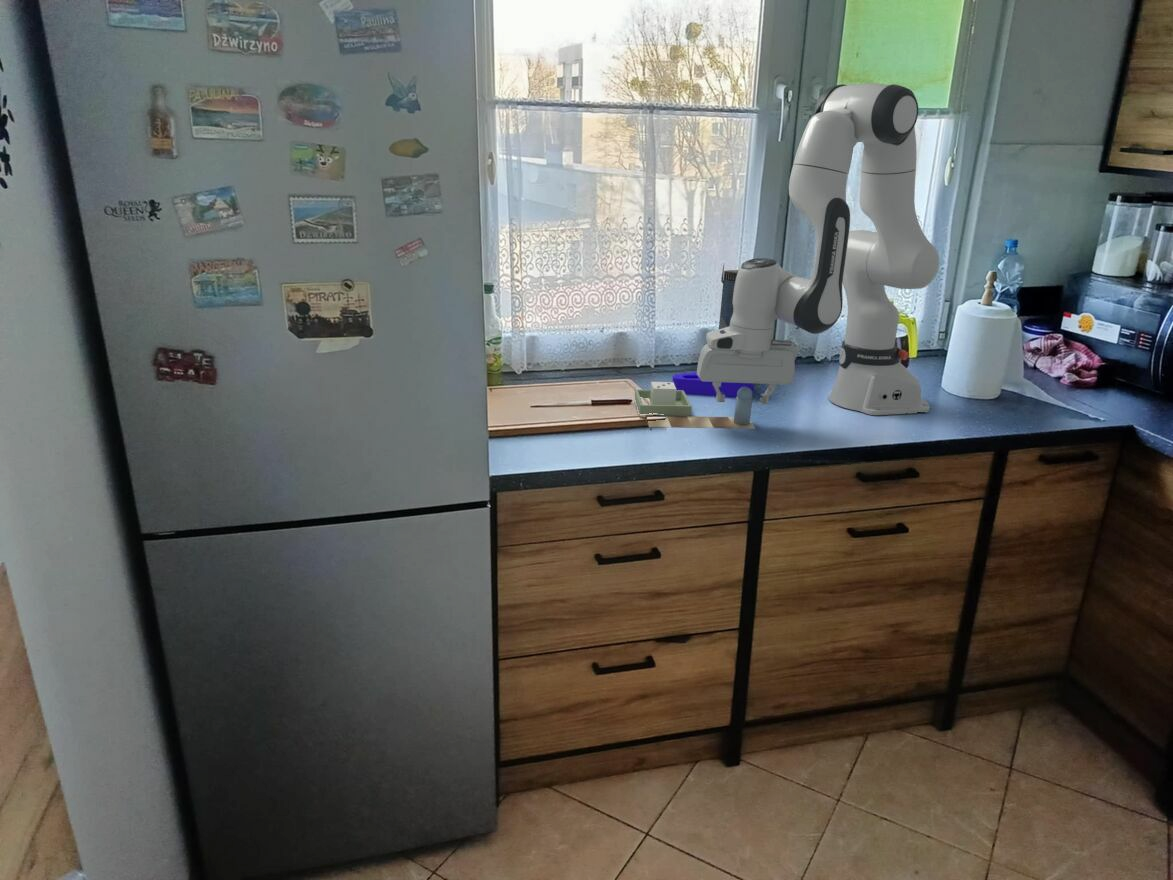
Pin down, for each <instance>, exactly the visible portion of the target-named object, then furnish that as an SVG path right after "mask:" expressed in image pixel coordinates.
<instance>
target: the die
mask: <svg viewBox="0 0 1173 880" xmlns="http://www.w3.org/2000/svg"><path fill="white" fill-rule="evenodd" d="M650 390H651V393H650V403H651V405H675V400H676V387H675V385H674V382H672V381H651V383H650Z"/></svg>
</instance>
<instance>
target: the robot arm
mask: <svg viewBox="0 0 1173 880" xmlns="http://www.w3.org/2000/svg"><path fill="white" fill-rule="evenodd" d="M813 108H814V109H813V114H812V115H813V116H811V118H810V119H809V121H808V123H807V124H806V127H805V128H804V130H803V131H804V132H803V134H802V136H801V139H800V142H799V144H798V146H797V150H796V152H795V153H796V154H795V157H794V160H793V165H792V167H791V170H790V171H791V172H790V177H789V181H788V196H789V197H790V198H789V199H790V200H791V202H792V204H793V206H794V208H796V209H797V211H798V212H799V213H800V214H802V215H803V216H804V217H805V218H807V219H808V221H809V222H810V223H811V224H812V226H813V228H814V230H815V233H816V240H817V241H816V246H815V247H816V249H815V255H814V264H813V270H812V277H811V279H809V278H805V277H802V276H800V275H795V274H793V273H791V272H789V271H788V270H786V269H784V268H783V267H782V266H781V265H780V264H779V263H778V262H777V260H775V259H772V258H766V257H762V258H761V257H759V258H758V257H757V258H752V259H748V260H746V261H744V262H742V263H741V265H740V266H739V268H738V269H737V270H738V273H737V277H736V281H735V286H734V293H733V315H732V318H731V320H730V326H729V327H726V328H722V329H719V328H718V329H715V330H711V331H709V332H707V333H706V336H705V340H706V344H705V345H704V346H702V348H701V351H700V353H699V356H698V362H697V366H696V367H697V368H696V372H697V375H698V377H699V378H700V380H701V381H706V382H713V383H712V384H713V386H714V388H715V390H716V392H717V394H716V396H715V401H716V402H717V403H724V402H725V398H726V397H725V394H724V392H720V390H719V388H718V387H721V382H732V383H754V384H757V385H759V384H760V385H766V387H767V388H766V390H765V392H764V393H760V394H759V397H760V398H759V403H760V404H761V405H762V404H763V405H766V404H767V405H768V404H769V399H770V397H771V395H773V393H774V391H775V390H776V387H777V385H785V386H786V385H788V386H789V385H791V384H792V383H793V382H794V380H795V369H796V367H795V366H796V365H795V360H796V359H797V357H798V350H799V349H798V346H797V344H796V343H795V342H793V340H790V339H786V340H782V339H781V340H780V339H773V331H774V322H775V321H776V320H780V321H782V322H784V323H787V324H790V325H792V326H796V327H798V328H799V329H801V330H804V331H805V332H808V333H810V334H813V335H817V334H822V333H824V332H825V331H828V330H829V329H831V328H832V327H833V326H834V325H835V324H836V323H837V321H838V320H839V318H840V317H841V315H842V311H843V301H844V300H843V289H844V292H845V296H846V302H847V316H846V325H845V326H846V327H845V335H844V340H843V341H841V342H842V343H841V347H840V351H839V360H838V361H839V364H838V365H839V367H838V372H837V375H836V378H835V381H834V385H833V388H832V390H831V392H830V394H829V396H828V399H829V401H830V402H831V403H833V404H835V405H836V406H838V407H841V408H845V409H848V410H852V411H858V412H861V413H864V414H867V415H870V416H884V415H885V416H886V415H888V416H889V415H904V414H905V415H906V413H907V414H918V413H917V412H925V413H928V412H929V411H930V405H929V403H928V401H927V400H925V399H924V398H923V397H922V388H921V383H920V381H919V380H918V378H917V377H916V376H915V375H914V374H913V373H912V372H911V371H910V370H908V368H907V367H905V366H904V364H902V363H901V362H900V360H902V361H907V360H908V359H909V357H910V353H909V351H906V349H901V348H899V347H898V346H896V338H897V332H898V326H899V321H900V313H899V310H898V308H897V306H895V304H894V303H892V302H891V300H890V299H889V297H888V296H887V293H886V289H885V286H886V287H891V288H895V289H899V290H903V289H904V290H917V289H918V290H919V289H924V288H926V287H928V285H930V284H931V283H932V282H933V280H934V279H935V278H936V276H937V274H938V272H939V269H940V255H939V252H938V250H937V248H936V246H934V245H933V244H932V243H931V242H930V240H929V239H928V238H927V237H926V235H925V233H924V231H923V229H922V228H921V226H920V223H919V220H918V216H917V212H916V204H915V196H916V195H915V192H916V190H915V188H916V172H917V138H916V135H917V134H916V130H915V129H916V128H915V126H916V123H917V120H918V117H919V104H918V100H917V97H916V96H915V93H914V92H913V90H911V89H910V88H908V87H905V86H904V85H903V86H902V85H898V84H890V85H889V84H883V83H877V82H876V83H875V82H866V83H858V84H857V83H855V84H836V85H833V86H830V87H828V88H826V89H825V90H823V92H822V93H821V94H820V96H819V97H818V99H817V101H816V102H815V106H814V107H813ZM858 143H862V144H863V148H862V149H863V150H862V156H861V157H862V158H861V166H860V167H861V169H860V184H859V185H860V187H859V207H860V209H861V211H862V213H863V214H865V216H866V217H868V218H869V219H870V221H871V222H872V224H873V226H874V228H875V230H876V231H871V230H865V229H860V230H859V229H856V230H850V229H851V228H850V226H851V211H850V207H849V205H848V204H847V196H846V195H847V194H846V193H847V191H846V189H847V182H848V177H849V173H850V168H851V164H852V160H853V154H854V148H855V146H856V145H857V144H858Z"/></svg>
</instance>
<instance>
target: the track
mask: <svg viewBox="0 0 1173 880" xmlns="http://www.w3.org/2000/svg"><path fill="white" fill-rule="evenodd" d="M647 425H648V428H649V430H652V428H678V429H679V428H683V429H684V428H685V429H689V428H693V429H744V430H745V429H747V430H750V429H751V430H756V427H755V425H754V424H753V422H752V420H750V424H749V425H737V424H735V423H734V416H692V415H691V416H666V419H665V420H656V421H648V423H647Z"/></svg>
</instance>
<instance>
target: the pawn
mask: <svg viewBox="0 0 1173 880" xmlns="http://www.w3.org/2000/svg"><path fill="white" fill-rule="evenodd" d="M752 406H753V396H752V391H751V389H750V388H748V387H742V388H740V389H739V390H738V392H737V397H735V406H734V414H733V417H734V423H735V424H737V425H749V424H750V421H751V415H752Z"/></svg>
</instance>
